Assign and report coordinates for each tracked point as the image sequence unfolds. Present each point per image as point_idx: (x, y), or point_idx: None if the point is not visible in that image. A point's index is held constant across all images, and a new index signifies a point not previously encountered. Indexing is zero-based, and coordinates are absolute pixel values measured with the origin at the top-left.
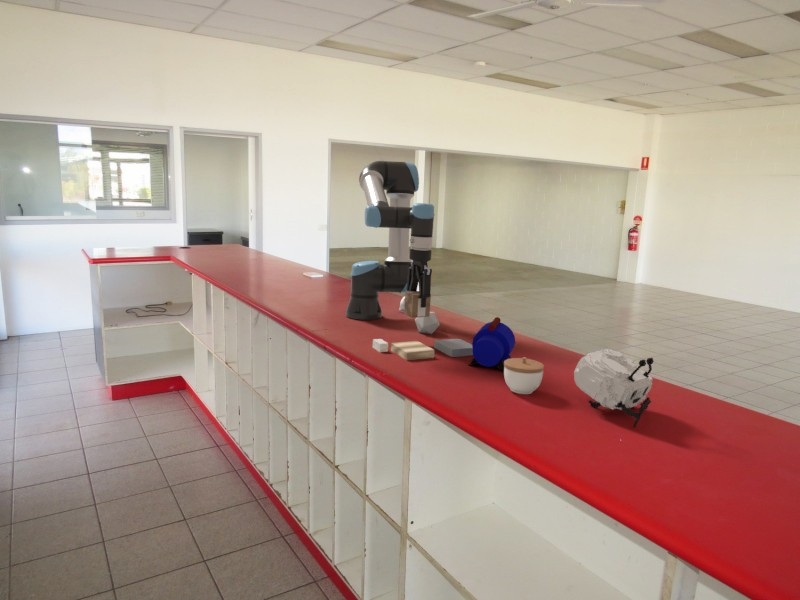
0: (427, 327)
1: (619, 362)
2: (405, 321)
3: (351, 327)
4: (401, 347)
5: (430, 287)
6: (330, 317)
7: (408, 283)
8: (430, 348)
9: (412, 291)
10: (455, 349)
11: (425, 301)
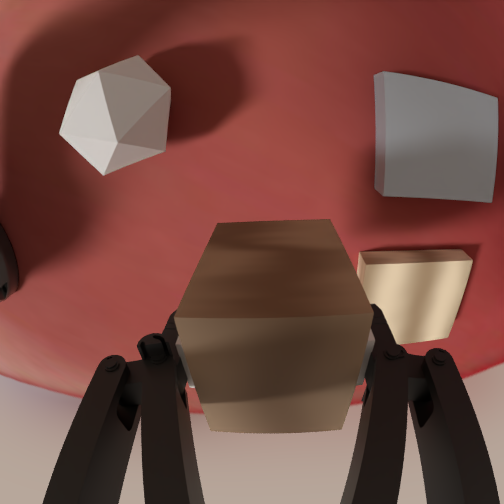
0: (167, 126)
1: None
2: (12, 149)
3: (87, 329)
4: (406, 337)
5: (475, 417)
6: (19, 325)
7: (132, 444)
8: (456, 264)
9: (202, 399)
10: (493, 189)
11: (390, 336)
